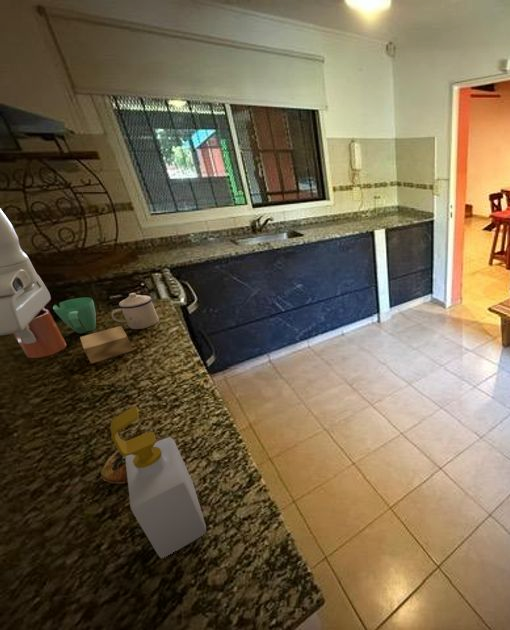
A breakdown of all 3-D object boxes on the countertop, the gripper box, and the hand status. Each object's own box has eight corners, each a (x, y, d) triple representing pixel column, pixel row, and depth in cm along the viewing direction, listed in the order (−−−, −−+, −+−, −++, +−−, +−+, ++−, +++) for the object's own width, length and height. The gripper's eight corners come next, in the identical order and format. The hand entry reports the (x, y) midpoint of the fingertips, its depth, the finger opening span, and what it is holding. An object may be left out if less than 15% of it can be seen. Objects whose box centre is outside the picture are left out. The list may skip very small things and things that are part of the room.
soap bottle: (208, 533, 56) (160, 427, 46) (160, 562, 52) (95, 453, 42) (193, 483, 64) (149, 384, 54) (150, 505, 61) (94, 402, 50)
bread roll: (172, 468, 67) (159, 451, 65) (103, 501, 63) (86, 483, 60) (174, 433, 76) (162, 417, 73) (113, 460, 71) (99, 443, 69)
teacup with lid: (158, 315, 127) (147, 286, 122) (161, 324, 121) (149, 294, 116) (117, 325, 121) (104, 294, 115) (117, 335, 114) (103, 303, 109)
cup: (21, 361, 75) (-1, 325, 71) (32, 347, 80) (12, 312, 76) (62, 352, 78) (43, 317, 74) (70, 340, 83) (52, 306, 79)
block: (91, 363, 100) (83, 349, 97) (86, 351, 106) (79, 337, 103) (133, 350, 106) (127, 336, 104) (127, 339, 112) (121, 325, 110)
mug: (67, 328, 118) (54, 302, 114) (104, 320, 124) (92, 295, 119) (64, 346, 108) (49, 317, 104) (104, 336, 114) (91, 309, 109)
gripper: (5, 265, 78) (35, 319, 84) (-43, 295, 62) (-1, 359, 68) (43, 261, 81) (69, 313, 87) (7, 289, 65) (42, 351, 71)
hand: (38, 334), depth 77 cm, fingers closed on cup, 6 cm apart
